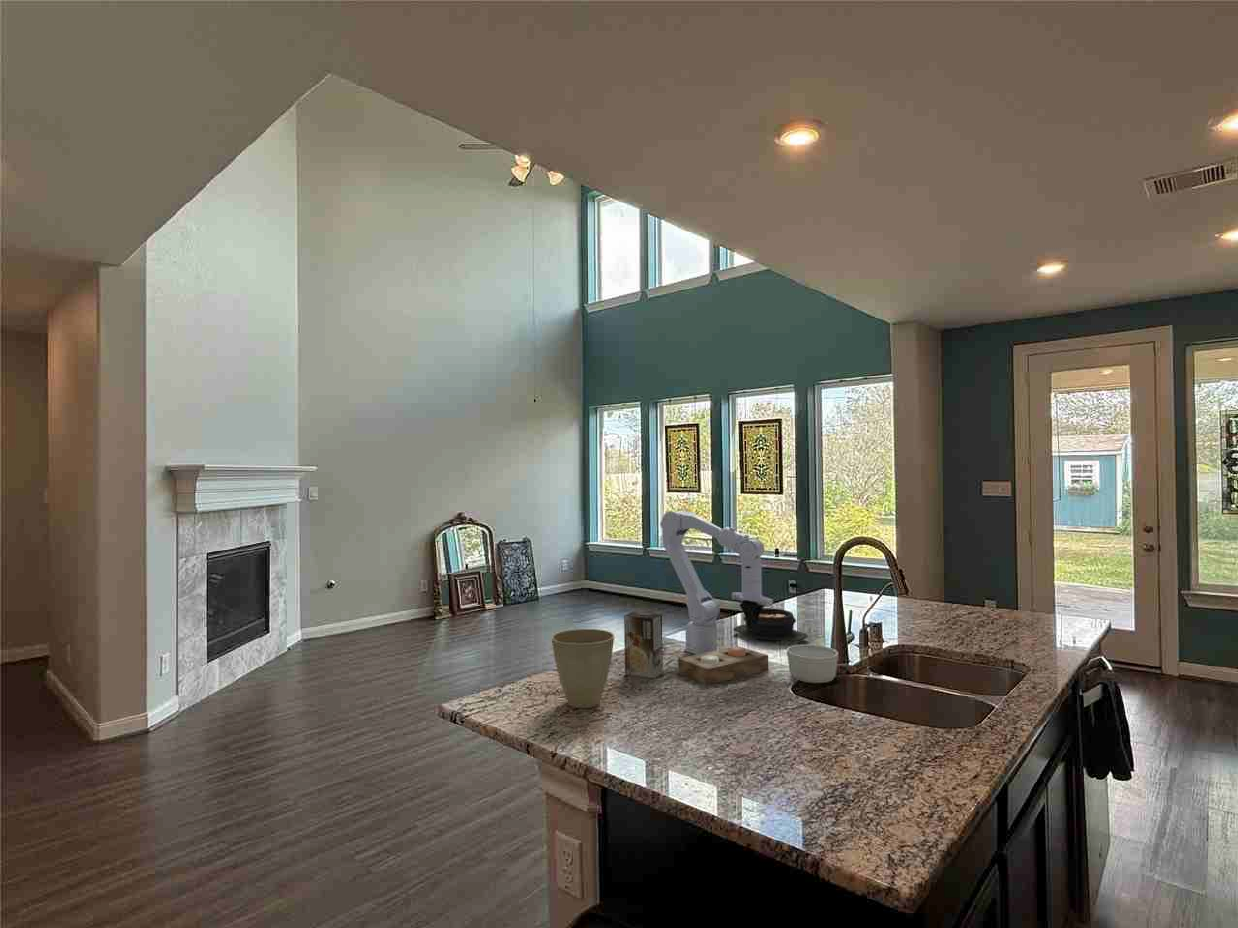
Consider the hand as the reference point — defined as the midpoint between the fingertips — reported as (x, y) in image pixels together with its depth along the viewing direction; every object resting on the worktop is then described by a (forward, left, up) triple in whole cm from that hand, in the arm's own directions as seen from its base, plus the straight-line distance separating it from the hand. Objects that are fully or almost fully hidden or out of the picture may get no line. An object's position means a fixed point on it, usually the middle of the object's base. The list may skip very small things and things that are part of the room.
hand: (752, 627), depth 189 cm
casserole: (-15, +23, -10) cm, 29 cm away
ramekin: (+20, +2, -10) cm, 22 cm away
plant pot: (+2, -58, -10) cm, 59 cm away
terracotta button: (+3, -9, -7) cm, 12 cm away
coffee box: (-8, -33, -10) cm, 35 cm away
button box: (+3, -14, -9) cm, 17 cm away
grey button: (+3, -19, -8) cm, 21 cm away
